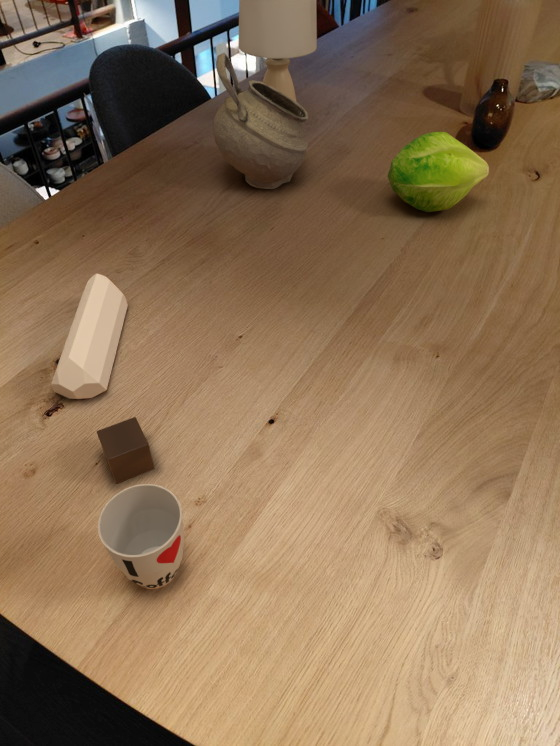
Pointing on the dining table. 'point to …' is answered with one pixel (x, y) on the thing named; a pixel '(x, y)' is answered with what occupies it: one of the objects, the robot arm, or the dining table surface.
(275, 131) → the pot
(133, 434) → the walnut block
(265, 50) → the lamp
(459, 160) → the lettuce
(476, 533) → the dining table surface
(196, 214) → the dining table surface
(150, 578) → the cup
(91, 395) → the crystal
